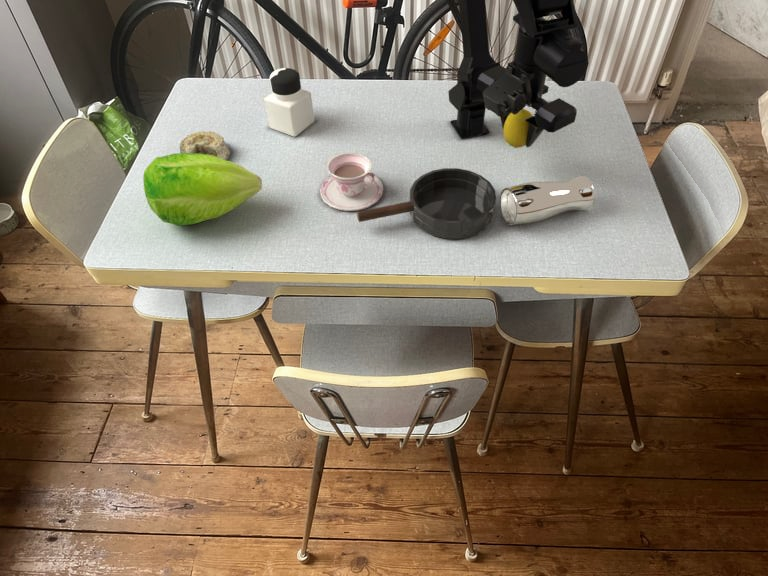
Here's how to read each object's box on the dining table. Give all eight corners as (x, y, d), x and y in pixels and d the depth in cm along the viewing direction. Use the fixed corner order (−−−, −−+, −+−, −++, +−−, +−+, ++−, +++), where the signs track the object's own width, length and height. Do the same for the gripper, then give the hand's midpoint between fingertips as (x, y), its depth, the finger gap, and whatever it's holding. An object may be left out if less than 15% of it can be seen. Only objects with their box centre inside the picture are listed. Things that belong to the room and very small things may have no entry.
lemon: (530, 157, 105) (538, 119, 99) (499, 154, 106) (505, 116, 100) (531, 140, 108) (538, 102, 102) (501, 137, 109) (507, 99, 103)
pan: (399, 194, 108) (399, 176, 105) (474, 179, 111) (476, 161, 108) (425, 248, 98) (425, 230, 95) (507, 230, 101) (510, 212, 98)
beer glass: (587, 166, 100) (508, 179, 97) (601, 201, 98) (521, 216, 95) (569, 184, 107) (495, 197, 104) (582, 218, 105) (507, 232, 102)
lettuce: (265, 235, 101) (252, 180, 92) (149, 244, 100) (125, 190, 91) (267, 186, 111) (256, 132, 102) (162, 194, 109) (140, 141, 100)
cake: (179, 150, 120) (172, 126, 116) (227, 141, 122) (221, 117, 118) (182, 174, 113) (174, 150, 109) (233, 164, 115) (227, 140, 111)
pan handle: (356, 217, 100) (356, 209, 99) (411, 206, 102) (411, 198, 101) (359, 224, 99) (358, 216, 98) (414, 212, 101) (414, 205, 100)
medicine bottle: (315, 121, 125) (308, 69, 116) (295, 137, 121) (286, 85, 112) (289, 112, 128) (281, 61, 119) (269, 128, 124) (258, 76, 115)
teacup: (309, 203, 107) (305, 176, 102) (336, 166, 114) (333, 140, 109) (368, 218, 104) (367, 191, 99) (392, 179, 111) (392, 152, 106)
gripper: (457, 50, 96) (450, 131, 108) (538, 97, 86) (521, 181, 98) (505, 32, 100) (494, 111, 112) (589, 74, 90) (567, 157, 102)
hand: (517, 139), depth 106 cm, fingers closed on lemon, 5 cm apart
